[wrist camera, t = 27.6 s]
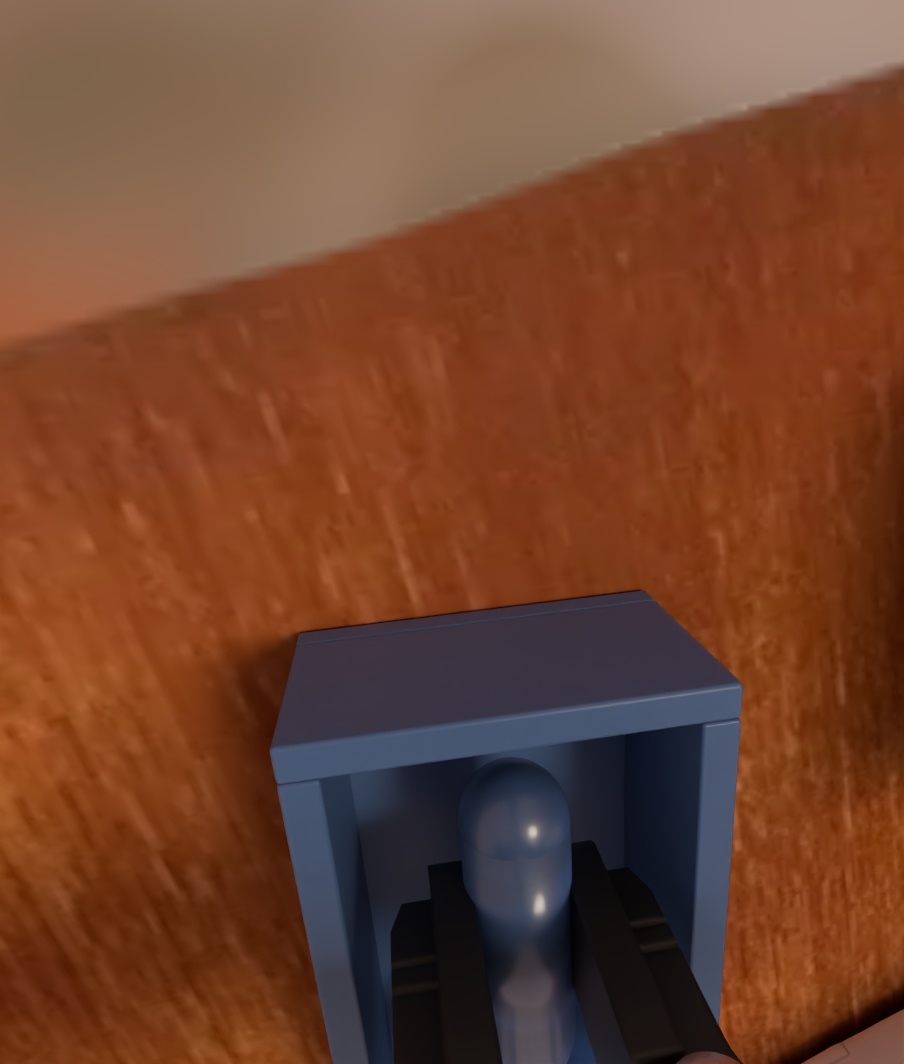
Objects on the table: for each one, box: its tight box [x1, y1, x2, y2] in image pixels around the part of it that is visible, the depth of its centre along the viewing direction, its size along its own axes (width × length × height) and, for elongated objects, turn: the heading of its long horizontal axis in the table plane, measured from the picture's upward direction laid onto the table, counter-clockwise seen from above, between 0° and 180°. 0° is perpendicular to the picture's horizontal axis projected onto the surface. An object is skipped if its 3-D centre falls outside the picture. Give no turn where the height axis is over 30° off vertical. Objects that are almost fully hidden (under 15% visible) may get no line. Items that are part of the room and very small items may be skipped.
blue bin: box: [269, 591, 743, 1064], centre depth 12 cm, size 12×7×4 cm, turn 5°
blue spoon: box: [458, 757, 596, 1064], centre depth 11 cm, size 10×3×2 cm, turn 5°
